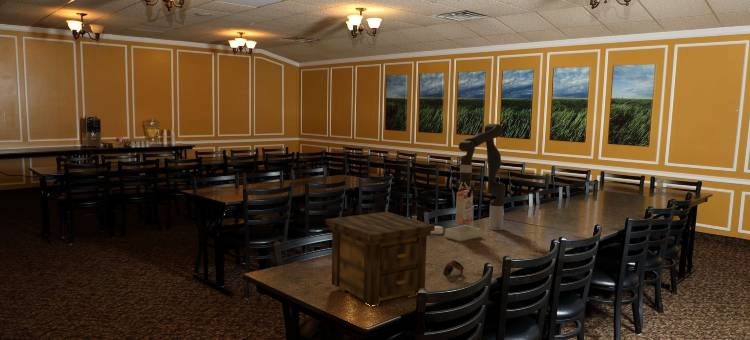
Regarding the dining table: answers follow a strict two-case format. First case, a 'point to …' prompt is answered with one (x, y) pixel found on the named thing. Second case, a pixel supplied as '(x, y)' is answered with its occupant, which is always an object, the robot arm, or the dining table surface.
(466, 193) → the cracker box
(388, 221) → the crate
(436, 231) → the tan small block
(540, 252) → the dining table surface
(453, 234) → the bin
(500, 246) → the dining table surface
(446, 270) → the brown curved band
